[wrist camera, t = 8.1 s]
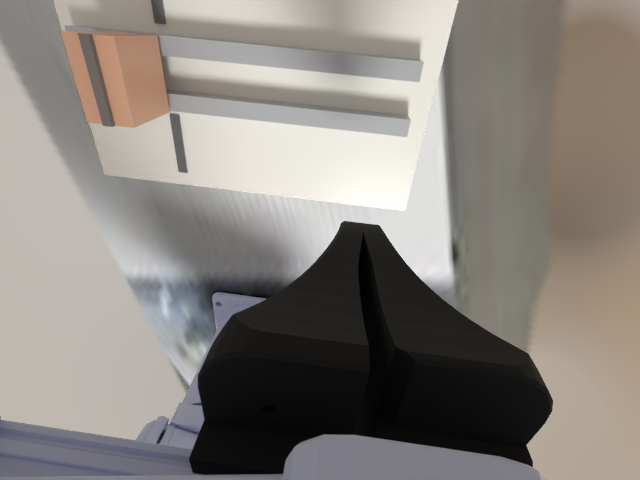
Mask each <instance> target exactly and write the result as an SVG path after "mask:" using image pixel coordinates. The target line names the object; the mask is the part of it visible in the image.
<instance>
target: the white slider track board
mask: <svg viewBox="0 0 640 480" xmlns="http://www.w3.org/2000/svg"><path fill="white" fill-rule="evenodd" d="M53 1H54V5H55V8H56V12H57V15H58V19H59V22H60V25H61V29H62V31H120V32H130V33H140V34H149V35H157V36H158V43H159V49H160V55H161V61H162V68H163V74H164V80H165V86H166V92H167V99H168V105H169V111H170V113H167V114H165V115H163V116H161V117H158V118H156V119H154V120H151V121H149V122H147V123H144V124H142V125H140V126H137V127H135V128H130V127H122V126H114V127H108V126H103V125H102V124H95V123H89V124H90V128H91V131H92V135H93V138H94V141H95V145H96V148H97V152H98V155H99V159H100V162H101V165H102V169H103V172H104V175H109V176H117V177H125V178H134V179H142V180H150V181H159V182H167V183H175V184H184V185H192V186H201V187H209V188H217V189H226V190H234V191H242V192H251V193H259V194H267V195H276V196H284V197H292V198H301V199H309V200H317V201H326V202H334V203H342V204H351V205H359V206H367V207H376V208H384V209H392V210H401V211H405V209H406V205H407V201H408V198H409V194H410V190H411V186H412V182H413V178H414V174H415V170H416V166H417V162H418V158H419V154H420V150H421V146H422V142H423V138H424V134H425V130H426V126H427V122H428V118H429V114H430V110H431V106H432V102H433V98H434V94H435V91H436V87H437V83H438V79H439V75H440V71H441V67H442V63H443V59H444V55H445V51H446V47H447V43H448V39H449V35H450V31H451V27H452V23H453V19H454V15H455V11H456V7H457V3H458V0H53Z"/></svg>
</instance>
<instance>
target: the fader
mask: <svg viewBox="0 0 640 480" xmlns="http://www.w3.org/2000/svg"><path fill="white" fill-rule="evenodd" d="M60 32H61V36H62V39H63V42H64V46H65V49H66V52H67V56H68V59H69V63H70V66H71V69H72V73H73V76H74V79H75V83H76V86H77V90H78V93H79V96H80V100H81V103H82V107H83V110H84V113H85V117H86V120H87V123H95V124H102V125H103V126H108V127H114V126H122V127H130V128H135V127H137V126H140V125H142V124H144V123H147V122H149V121H151V120H154V119H156V118H158V117H161V116H163V115H165V114H167V113H170V111H169V105H168V99H167V92H166V86H165V80H164V74H163V68H162V61H161V55H160V49H159V43H158V36H157V35H149V34H140V33H130V32H120V31H60Z"/></svg>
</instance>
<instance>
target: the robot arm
mask: <svg viewBox="0 0 640 480" xmlns="http://www.w3.org/2000/svg"><path fill="white" fill-rule="evenodd" d="M212 302H213V310H214V317H215V325H216V333H215V335H214V337H213V339H212V341H211V343H210V345H209V347H208V349H207V352H206V354H205V356H204V358H203V360H202V362H201V364H200V366H199V368H198V370H197V372H196V375H195V377H194V379H193V381H192V383H191V385H190V387H189V389H188V391H187V393H186V396H185V398H184V400H183V402H182V403H180V404H179V405H178V407H177V410H176V412H175V414H174V416H173V418H172V420H171V422H170V424H168V421H169V419H168V418H166V417H164V416H160V417H158V418H157V420H154V421H152V422H150V423H148V424H147V425H146V426H145V427H144V428H143V430H142V431H141V433H140V434H139V436H138V438H137V439H136V440H129V439H123V438H116V437H109V436H103V435H96V434H90V433H83V432H77V431H70V430H64V429H57V428H51V427H44V426H37V425H30V424H25V423H18V422H12V421H5V420H1V417H0V480H546V479H545V478H544V477H543V476H542V475H541V474H540V473H539V472H538V471H537V470H536V469H534V468H532V467H533V462H532V459H531V456H530V454H529V451H528V449H527V446H526V444H527V443H528V442H529V441H530V440H531V439H532V438H533V436H534V435H535V434H536V433H537V432H538V431H539V429H540V428H541V427H542V426H543V425H544V424H545V422H546V421H547V419H548V417H549V415H550V414H551V412H552V405H553V400H552V398H551V396H550V393H549V391H548V389H547V387H546V385H545V383H544V381H543V379H542V377H541V375H540V373H539V371H538V369H537V368H536V366H535V364H534V362H533V361H532V359H531V358H530V356H529V354H528V353H526V352H524V351H522V350H521V349H519V348H517V347H515V346H513V345H512V344H510V343H508V342H506V341H504V340H503V339H501V338H499V337H497V336H495V335H493V334H492V333H490V332H488V331H487V330H485V329H484V328H482V327H481V326H479V325H478V324H476V323H474V322H473V321H471V320H470V319H468V318H467V317H465V316H464V315H463V314H461V313H460V312H458V311H457V310H456V309H454V308H453V307H452V306H451V305H449V304H448V303H447V302H445V301H444V300H443V299H442V298H440V297H439V296H438V295H437V294H436V293H435V292H433V291H432V290H431V289H430V288H429V287H428V286H427V285H426V284H425V283H424V282H423V281H422V280H421V279H420V278H419V277H418V276H417V275H416V274H415V273H414V272H413V271H412V270H411V268H410V267H409V266H408V265H407V264H406V263H405V262H404V260H403V259H402V258H401V256H400V255H399V254H398V252H397V251H396V250H395V248H394V247H393V245H392V244H391V242H390V241H389V239H388V238H387V236H386V235H385V233H384V232H383V230H382V229H381V227H380V226H379V225H372V224H364V223H356V222H348V221H344V222H342V223H341V226H340V228H339V230H338V232H337V234H336V236H335V237H334V239H333V240H332V242H331V243H330V245H329V246H328V248H327V249H326V250H325V251H324V252H323V254H322V255H321V256H320V257H319V258H318V259H317V261H316V262H315V263H314V264H313V265H312V266H311V267H310V268H309V269H308V270H307V271H305V272H304V273H303V274H302V275H301V276H300V277H298V278H297V279H296V280H295V281H293V282H292V283H291V284H289V285H288V286H287V287H285V288H284V289H282V290H281V291H279V292H277V293H276V294H274V295H272V296H271V297H269V298H267V299H266V298H259V297H251V296H244V295H236V294H229V293H221V292H216V293H214V295H213V296H212ZM219 302H220V303H219Z"/></svg>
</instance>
